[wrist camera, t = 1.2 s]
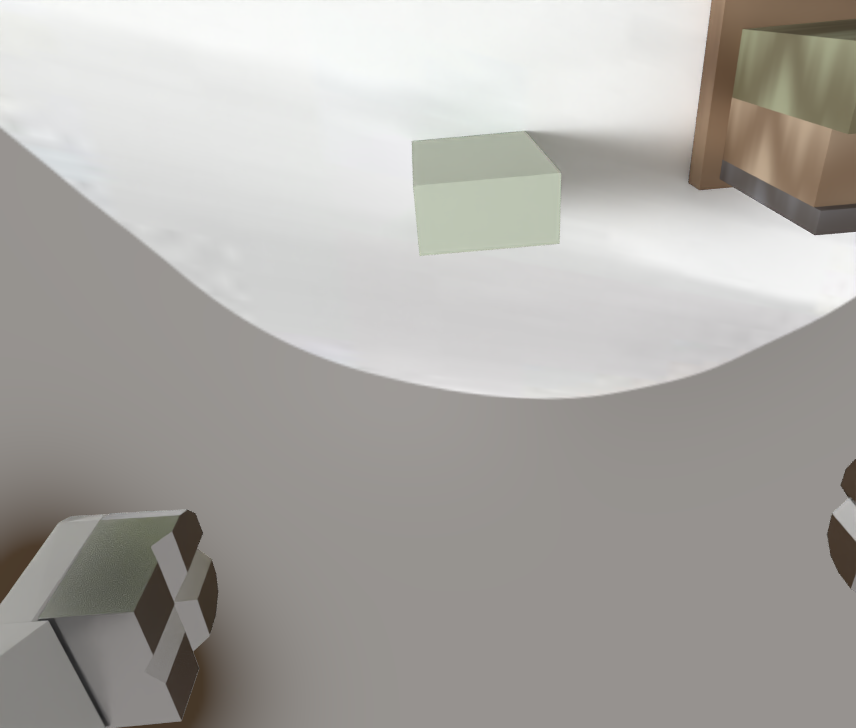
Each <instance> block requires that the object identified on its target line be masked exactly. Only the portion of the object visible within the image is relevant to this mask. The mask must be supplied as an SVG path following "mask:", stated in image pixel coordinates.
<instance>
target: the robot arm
mask: <svg viewBox="0 0 856 728" xmlns="http://www.w3.org/2000/svg"><path fill="white" fill-rule="evenodd" d="M841 487H842V489H843V490H844V492H845V493H846V495H847V496H848V499H847V500H846V501H845V502H844V503H843V504H842V505H841V506H840V507H838V508H837V509H836V510H835V511H834V512H833V513H832V515H831V519H830V524H829V528H828V532H827V537H828V543H829V549H830V556H831V558H832V560H833V562H834V564H835V567H836V569H837V571H838V573H839V574H840V575H841V577H842V578H843V579H844V580H845V582H846V583H847V585H848V586H849V587H850V589H851V590H853V591H855V592H856V459H855V460H854V461H853V462H852V463H851V464H850V465H849V466H848V467H847V468H846V470H845V473H844V476H843V479H842V482H841ZM202 535H203V531H202V529H201V526H200V523H199V521H198V518H197V516H196V514H195V513H194V512H192V511H189V510H187V509H186V510H167V511H149V512H129V513H113V514H109V515H86V516H71V517H69V518H67V519H65V520H63V521H61V522H59V523H58V525H57V526H56V527H55V529H54V530H53V531H52V533H51V534H50V536H49V537H48V538H47V540H46V542H45V543H44V544H43V546H42V547H41V548H40V550H39V551H38V553H37V554H36V555H35V557H34V558H33V560H32V561H31V562H30V564H29V565H28V567H27V568H26V569H25V571H24V572H23V574H22V575H21V577H20V578H19V579H18V581H17V582H16V583H15V585H14V586H13V588H12V589H11V590H10V592H9V593H8V595H7V596H6V598H5V599H4V600H3V602H2V603H1V605H0V728H117V727H126V726H137V725H146V724H157V723H166V722H177V721H182V718H183V715H184V712H185V709H186V706H187V703H188V700H189V697H190V694H191V691H192V688H193V685H194V682H195V679H196V676H197V673H198V670H199V666H198V664H197V661H196V658H195V656H194V653H193V651H194V650H195V649H196V648H197V647H198V646H199V645H200V644H201V643H202V642H204V641H205V640H206V639H207V638H208V637H209V636H210V633H211V630H212V627H213V623H214V620H215V617H216V611H217V600H218V583H217V576H216V571H215V568H214V565H213V561H212V559H211V558H209V557H208V556H207V555H205V554H204V553H203V552H201V551H200V550H199V549H197V547H198V545H199V542H200V540H201V538H202Z"/></svg>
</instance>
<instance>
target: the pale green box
mask: <svg viewBox="0 0 856 728" xmlns="http://www.w3.org/2000/svg"><path fill="white" fill-rule="evenodd" d="M412 166H413V190H414V201H415V212H416V223H417V233H418V244H419V255H420V256H424V255H436V254H447V253H459V252H470V251H482V250H493V249H505V248H516V247H528V246H539V245H551V244H559V239H560V202H561V172H560V171H559V169H558V168H557V167H556V166H555V165H554V164H553V163H552V161H551V160H550V159H549V158H548V157H547V156H546V154H545V153H544V152H543V151H542V150H541V149H540V148H539V146H538V145H537V144H536V143H535V142H534V141H533V139H532V138H531V137H530V136H529V135H528V134H527V132H526V131H519V132H508V133H497V134H486V135H475V136H464V137H453V138H442V139H430V140H419V141H412Z"/></svg>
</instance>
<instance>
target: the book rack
mask: <svg viewBox="0 0 856 728" xmlns="http://www.w3.org/2000/svg"><path fill="white" fill-rule="evenodd" d="M688 183H689V184H691V185H692V186H694V187H695V188H697V189H698V190H706V189H717V188H729V187H734V188H736V189H737V190H739V191H741V192H743V193H744V194H746V195H748V196H749V197H751V198H753V199H754V200H756V201H758V202H759V203H761V204H763V205H765V206H766V207H768V208H770V209H771V210H773V211H775V212H776V213H778V214H780V215H782V216H783V217H785V218H787V219H788V220H790V221H792V222H793V223H795V224H797V225H798V226H800V227H802V228H804V229H805V230H807V231H809V232H810V233H812V234H814V235H824V234H835V233H847V232H856V0H712V3H711V11H710V19H709V26H708V34H707V42H706V50H705V57H704V65H703V73H702V81H701V88H700V96H699V104H698V112H697V119H696V127H695V135H694V143H693V150H692V158H691V166H690V174H689V181H688Z"/></svg>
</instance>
